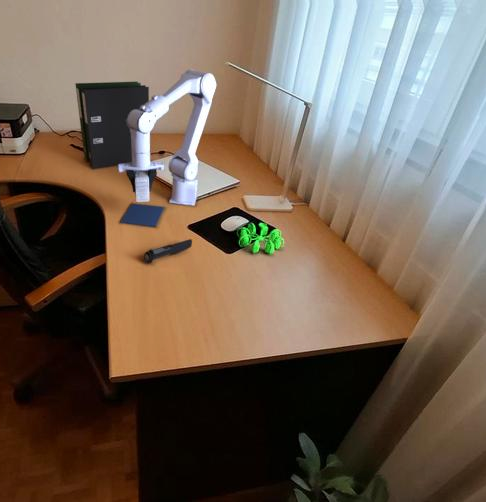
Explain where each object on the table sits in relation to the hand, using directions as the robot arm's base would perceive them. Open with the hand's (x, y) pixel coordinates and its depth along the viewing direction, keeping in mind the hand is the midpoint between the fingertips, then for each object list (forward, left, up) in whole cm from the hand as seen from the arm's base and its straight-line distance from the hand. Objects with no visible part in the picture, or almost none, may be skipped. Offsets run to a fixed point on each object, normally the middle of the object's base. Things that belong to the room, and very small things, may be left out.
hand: (141, 190), depth 117 cm
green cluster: (-40, +10, -9) cm, 43 cm away
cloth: (0, +1, -9) cm, 9 cm away
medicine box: (0, 0, -3) cm, 3 cm away
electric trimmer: (-13, +22, -9) cm, 27 cm away
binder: (+25, -47, -9) cm, 54 cm away
